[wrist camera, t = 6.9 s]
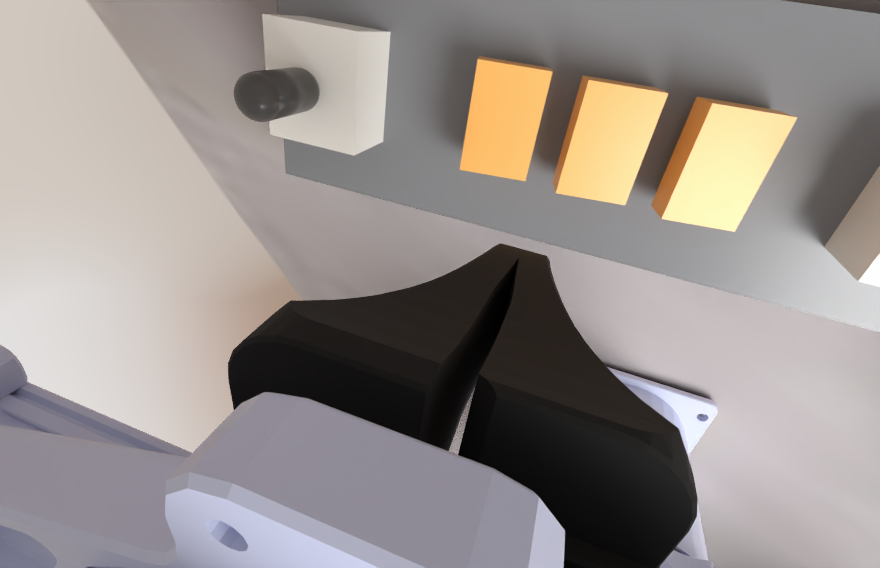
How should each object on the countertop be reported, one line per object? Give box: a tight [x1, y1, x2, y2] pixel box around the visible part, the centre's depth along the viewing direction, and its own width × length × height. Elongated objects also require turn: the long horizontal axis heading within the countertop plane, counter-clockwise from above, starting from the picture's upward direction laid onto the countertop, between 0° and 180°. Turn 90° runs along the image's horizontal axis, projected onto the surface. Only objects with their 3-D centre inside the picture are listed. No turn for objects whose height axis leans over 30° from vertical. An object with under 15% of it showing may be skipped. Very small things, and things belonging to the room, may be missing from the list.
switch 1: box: [460, 56, 553, 181], centre depth 15 cm, size 4×2×1 cm, turn 173°
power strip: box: [277, 0, 880, 333], centre depth 17 cm, size 9×26×4 cm, turn 83°
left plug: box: [234, 14, 391, 156], centre depth 15 cm, size 4×4×6 cm
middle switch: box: [552, 75, 668, 205], centre depth 15 cm, size 4×2×1 cm, turn 173°
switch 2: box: [651, 97, 798, 232], centre depth 14 cm, size 4×2×1 cm, turn 173°
